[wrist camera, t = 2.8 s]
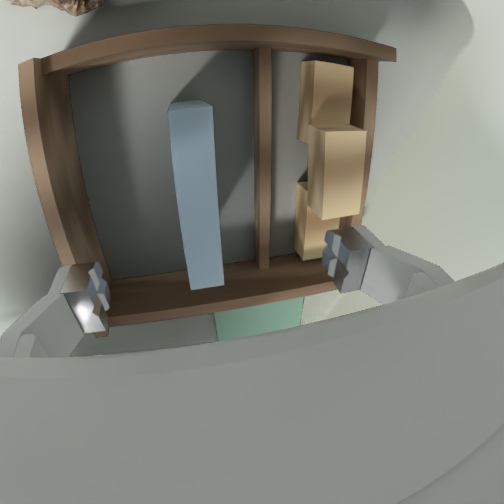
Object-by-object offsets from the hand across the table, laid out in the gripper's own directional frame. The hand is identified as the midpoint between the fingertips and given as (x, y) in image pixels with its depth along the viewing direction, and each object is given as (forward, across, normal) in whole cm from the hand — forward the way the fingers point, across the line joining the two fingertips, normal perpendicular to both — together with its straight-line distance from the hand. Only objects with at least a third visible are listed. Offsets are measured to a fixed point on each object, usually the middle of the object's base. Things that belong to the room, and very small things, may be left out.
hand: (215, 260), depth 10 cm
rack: (+12, +2, 0) cm, 12 cm away
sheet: (+12, 0, 0) cm, 12 cm away
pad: (+12, +5, -16) cm, 20 cm away
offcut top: (+10, +9, 0) cm, 13 cm away
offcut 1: (+12, +9, +4) cm, 16 cm away
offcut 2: (+12, +9, -5) cm, 16 cm away
